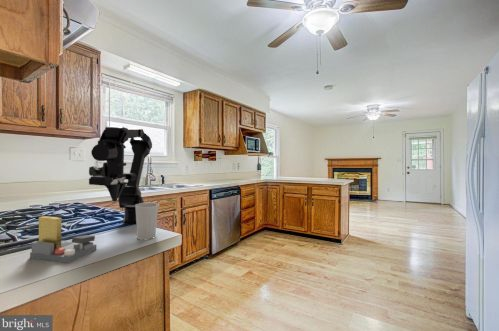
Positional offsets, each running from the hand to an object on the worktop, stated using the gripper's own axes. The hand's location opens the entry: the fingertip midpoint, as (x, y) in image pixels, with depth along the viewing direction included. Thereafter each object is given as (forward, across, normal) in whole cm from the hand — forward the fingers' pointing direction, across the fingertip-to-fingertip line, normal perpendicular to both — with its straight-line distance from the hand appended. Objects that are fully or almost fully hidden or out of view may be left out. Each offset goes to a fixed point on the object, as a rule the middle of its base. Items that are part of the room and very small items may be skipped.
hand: (114, 201), depth 93 cm
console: (+12, +20, 0) cm, 24 cm away
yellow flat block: (+10, +22, -3) cm, 25 cm away
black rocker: (+8, +18, +4) cm, 20 cm away
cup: (+12, +1, +14) cm, 19 cm away
